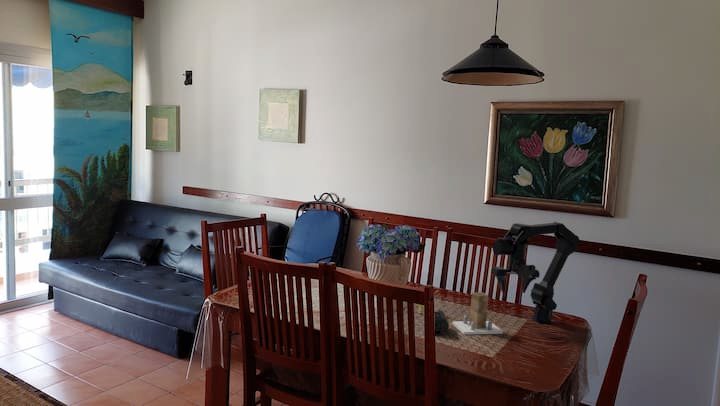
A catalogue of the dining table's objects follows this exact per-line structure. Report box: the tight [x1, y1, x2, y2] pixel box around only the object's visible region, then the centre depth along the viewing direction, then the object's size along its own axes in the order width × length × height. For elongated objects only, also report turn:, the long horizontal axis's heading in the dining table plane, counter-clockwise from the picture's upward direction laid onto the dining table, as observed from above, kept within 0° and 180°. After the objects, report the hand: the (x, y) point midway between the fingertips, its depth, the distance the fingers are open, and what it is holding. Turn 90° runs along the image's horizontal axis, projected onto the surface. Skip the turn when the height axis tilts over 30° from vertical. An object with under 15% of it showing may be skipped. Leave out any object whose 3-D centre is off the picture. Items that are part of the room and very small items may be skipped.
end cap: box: [433, 309, 450, 336], centre depth 192 cm, size 10×7×7 cm
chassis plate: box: [452, 314, 504, 335], centre depth 197 cm, size 16×11×4 cm
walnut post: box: [468, 291, 489, 329], centre depth 196 cm, size 4×4×13 cm
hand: (513, 292), depth 204 cm, fingers open, 9 cm apart
